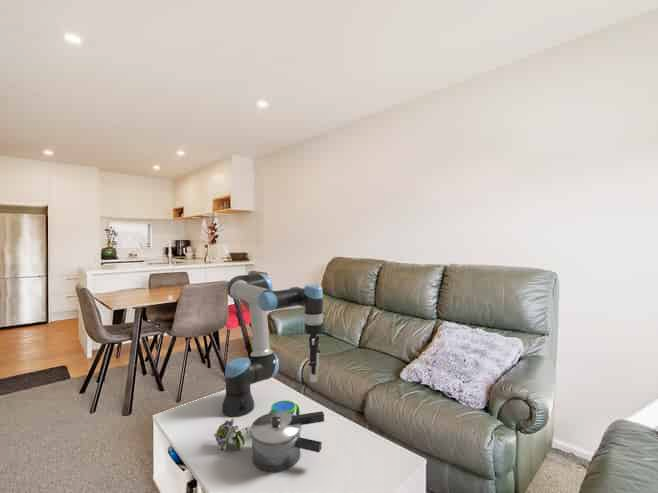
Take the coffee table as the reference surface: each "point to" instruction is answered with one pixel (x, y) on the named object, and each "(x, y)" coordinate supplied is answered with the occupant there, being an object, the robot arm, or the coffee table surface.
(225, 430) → the passion flower
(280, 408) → the snack cup
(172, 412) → the coffee table surface
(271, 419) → the cooker lid
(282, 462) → the cooker pot
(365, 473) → the coffee table surface
